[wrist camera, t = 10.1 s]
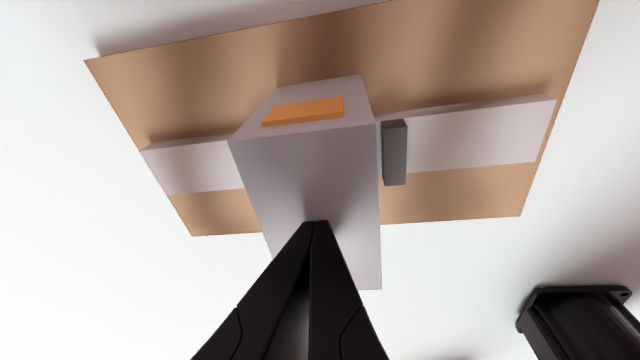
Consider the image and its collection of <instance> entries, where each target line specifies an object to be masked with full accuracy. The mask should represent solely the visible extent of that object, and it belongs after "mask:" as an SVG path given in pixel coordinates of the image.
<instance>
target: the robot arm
mask: <svg viewBox="0 0 640 360" xmlns="http://www.w3.org/2000/svg"><path fill="white" fill-rule="evenodd" d="M631 295H632V291H631V290H630V289H629V288H628V287H626V286H600V287H556V288H539V289H536V290H535V291H534V292H533V294H532V296H531V298H530V299H529V301H528V303H527V305H526V307H525V309H524V311H523V313H522V315H521V317H520V319H519V321H518V322H517V324H516V329H517V331H518V332H519V333H524V335H525V337H526V339H527V340H528V342H529V344H530V346H531V348H532V349H533V351H534V353H535V355H536V356H537V358H538V360H640V322H639V321H638V320H637V319H636V318H635V317H634V316H633V315H632V314H631V313H630V312H629V311H628V309H627V308H626V307H625V306H624V305H623V304H624V303H625V302H626V301H627V300H628V298H629V297H630V296H631ZM191 360H389V358H388V356H387V354H386V352H385V350H384V348H383V347H382V345H381V343H380V341H379V339H378V337H377V334H376V332H375V330H374V328H373V326H372V323H371V321H370V319H369V317H368V314H367V312H366V309H365V307H364V306H363V302H362V300H361V298H360V295H359V293H358V290H357V288H356V286H355V283H354V281H353V278H352V276H351V274H350V271H349V269H348V266H347V264H346V262H345V259H344V257H343V254H342V252H341V250H340V247H339V245H338V242H337V240H336V237H335V235H334V233H333V230H332V228H331V225H330V223H329V221H328V220H317V221H316V222H315V221H304V222H303V223H302V224H301V225H300V226H299V228H298V229H297V230H296V231H295V233H294V234H293V235H292V236H291V238H290V239H289V240H288V241H287V243H286V244H285V245H284V246H283V248H282V249H281V250H280V251H279V253H278V254H277V255H276V256H275V258H274V259H273V260H272V261H271V263H270V264H269V265H268V267H267V268H266V269H265V270H264V272H263V273H262V274H261V275H260V277H259V278H258V279H257V280H256V282H255V283H254V284H253V285H252V287H251V288H250V289H249V290H248V292H247V293H246V294H245V295H244V297H243V298H242V299H241V301H240V302H239V303H238V304H237V308H234V309H233V310H232V312H231V313H230V314H229V315H228V317H227V318H226V319H225V320H224V322H223V323H222V324H221V325H220V326H219V328H218V329H217V330H216V331H215V332H214V334H213V335H212V336H211V337H210V338H209V340H208V341H207V342H206V343H205V344H204V345H203V346H202V347H201V348H200V350H199V351H198V352H197V353H196V354H195V355H194V356H193V357H192V358H191Z"/></svg>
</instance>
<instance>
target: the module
mask: <svg viewBox="0 0 640 360" xmlns="http://www.w3.org/2000/svg"><path fill="white" fill-rule="evenodd" d="M227 143H228V146H229V148H230V151H231V153H232V156H233V159H234V161H235V164H236V166H237V169H238V171H239V174H240V176H241V179H242V181H243V184H244V186H245V189H246V191H247V194H248V197H249V199H250V202H251V204H252V207H253V209H254V212H255V214H256V217H257V219H258V222H259V224H260V227H261V230H262V232H263V235H264V237H265V240H266V242H267V245H268V247H269V250H270V252H271V255H272V257H273V259H274V258H275V256H276V255H277V254H278V253H279V251H280V250H281V249H282V248H283V246H284V245H285V244H286V243H287V241H288V240H289V239H290V238H291V236H292V235H293V234H294V233H295V231H296V230H297V229H298V228H299V226H300V225H301V224H302V223H303V222H304V221H315V222H316V221H317V220H328V221H329V223H330V225H331V228H332V230H333V233H334V235H335V237H336V240H337V242H338V245H339V247H340V250H341V252H342V254H343V257H344V259H345V262H346V264H347V266H348V269H349V271H350V274H351V276H352V278H353V281H354V283H355V286H356V288H357V290H377V289H382V272H381V246H380V220H379V194H378V168H377V142H376V122H375V119H374V116H373V113H372V110H371V106H370V103H369V100H368V97H367V93H366V90H365V87H364V84H363V80H362V77H361V74H359V75H352V76H346V77H339V78H333V79H326V80H319V81H313V82H306V83H300V84H293V85H287V86H280V87H276V88H275V89H274V91H273V92H272V93H271V94H270V95H269V96H268V97H267V98H266V99H265V100H264V101H263V103H262V104H261V105H260V106H259V107H258V108H257V109H256V110H255V111H254V112H253V114H252V115H251V116H250V117H249V118H248V119H247V120H246V121H245V122H244V123H243V124H242V126H241V127H240V128H239V129H238V130H237V131H236V132H235V133H234V134H233V135H232V137H231V138H230V139H229V140H228V141H227Z"/></svg>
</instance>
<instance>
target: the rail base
mask: <svg viewBox="0 0 640 360" xmlns="http://www.w3.org/2000/svg"><path fill="white" fill-rule="evenodd" d="M599 1H600V0H394V1H388V2H383V3H378V4H373V5H368V6H362V7H357V8H352V9H347V10H342V11H336V12H331V13H326V14H321V15H316V16H311V17H305V18H300V19H295V20H290V21H285V22H279V23H274V24H269V25H264V26H259V27H253V28H248V29H243V30H238V31H233V32H227V33H222V34H217V35H212V36H207V37H202V38H196V39H191V40H186V41H181V42H176V43H170V44H165V45H160V46H155V47H150V48H144V49H139V50H134V51H129V52H124V53H118V54H113V55H108V56H103V57H98V58H92V59H87V60H83V61H84V62H85V64H86V65H87V67H88V69H89V70H90V72H91V74H92V75H93V77H94V78H95V80H96V82H97V83H98V85H99V87H100V88H101V90H102V91H103V93H104V95H105V96H106V98H107V99H108V101H109V103H110V104H111V106H112V108H113V109H114V111H115V112H116V114H117V116H118V117H119V119H120V121H121V122H122V124H123V125H124V127H125V129H126V130H127V132H128V134H129V135H130V137H131V138H132V140H133V142H134V143H135V145H136V147H137V148H138V150H139V152H140V154H141V155H142V157H143V158H144V160H145V162H146V163H147V165H148V167H149V168H150V170H151V171H152V173H153V175H154V176H155V178H156V180H157V181H158V183H159V184H160V186H161V188H162V189H163V191H164V192H165V194H166V195H167V197H168V198H169V200H170V202H171V203H172V205H173V207H174V208H175V210H176V211H177V213H178V215H179V216H180V218H181V220H182V221H183V223H184V224H185V226H186V228H187V229H188V231H189V233H190V234H191V236H208V235H225V234H241V233H257V232H262V230H261V227H260V224H259V222H258V219H257V217H256V214H255V212H254V209H253V207H252V204H251V202H250V199H249V197H248V194H247V191H246V189H245V186H244V184H243V181H242V179H241V176H240V174H239V171H238V169H237V166H236V164H235V161H234V159H233V156H232V153H231V151H230V148H229V146H228V143H227V141H228V140H229V139H230V138H231V137H232V135H233V134H234V133H235V132H236V131H237V130H238V129H239V128H240V127H241V126H242V124H243V123H244V122H245V121H246V120H247V119H248V118H249V117H250V116H251V115H252V114H253V112H254V111H255V110H256V109H257V108H258V107H259V106H260V105H261V104H262V103H263V101H264V100H265V99H266V98H267V97H268V96H269V95H270V94H271V93H272V92H273V91H274V89H275V88H276V87H280V86H287V85H293V84H300V83H306V82H313V81H319V80H326V79H333V78H339V77H346V76H352V75H359V74H361V77H362V80H363V84H364V87H365V90H366V93H367V97H368V100H369V103H370V106H371V110H372V113H373V116H374V119H375V122H376V142H377V168H378V194H379V220H380V225H385V224H402V223H418V222H434V221H450V220H466V219H482V218H498V217H514V216H520V215H521V212H522V209H523V207H524V204H525V201H526V198H527V196H528V193H529V190H530V188H531V185H532V182H533V179H534V177H535V174H536V171H537V169H538V166H539V163H540V161H541V158H542V155H543V152H544V150H545V147H546V144H547V142H548V139H549V136H550V133H551V131H552V128H553V125H554V123H555V120H556V117H557V114H558V112H559V109H560V106H561V104H562V101H563V98H564V95H565V93H566V90H567V87H568V85H569V82H570V79H571V76H572V74H573V71H574V68H575V66H576V63H577V60H578V57H579V55H580V52H581V49H582V47H583V44H584V41H585V38H586V36H587V33H588V30H589V28H590V25H591V22H592V20H593V17H594V14H595V11H596V9H597V6H598V3H599Z"/></svg>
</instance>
